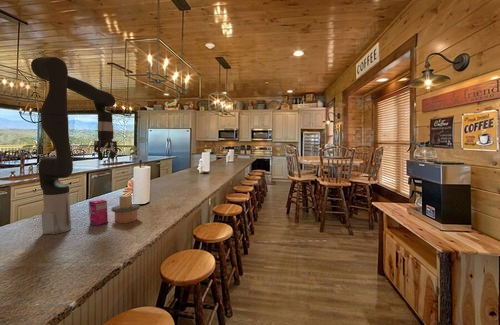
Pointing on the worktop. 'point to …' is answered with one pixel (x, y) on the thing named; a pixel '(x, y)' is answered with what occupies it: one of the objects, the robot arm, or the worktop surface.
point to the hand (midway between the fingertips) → (106, 159)
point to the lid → (125, 204)
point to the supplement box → (98, 212)
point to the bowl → (125, 216)
